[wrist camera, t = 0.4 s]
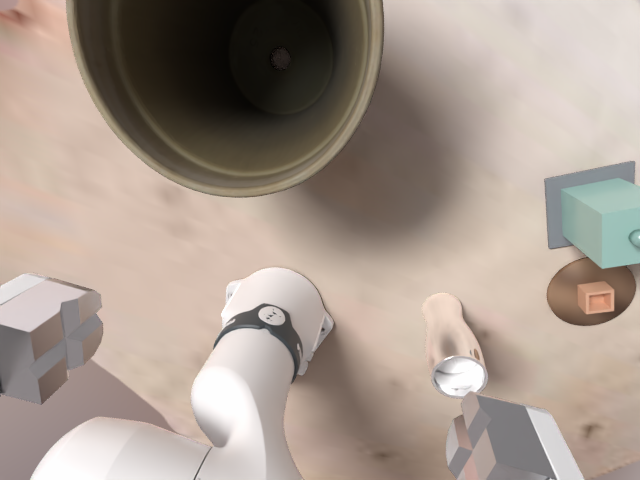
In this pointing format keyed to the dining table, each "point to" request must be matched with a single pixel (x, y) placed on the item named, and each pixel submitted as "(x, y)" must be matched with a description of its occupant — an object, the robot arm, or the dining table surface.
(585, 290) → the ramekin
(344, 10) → the plant pot
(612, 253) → the teal knobbed box
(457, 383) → the shiny silver metal cup
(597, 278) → the disc
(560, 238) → the mat
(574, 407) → the dining table surface
